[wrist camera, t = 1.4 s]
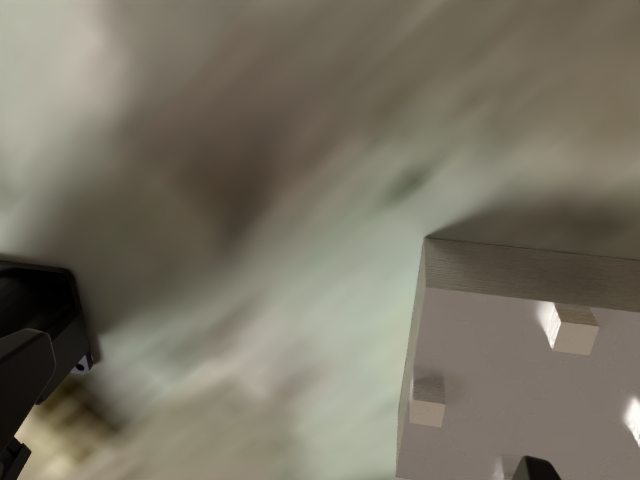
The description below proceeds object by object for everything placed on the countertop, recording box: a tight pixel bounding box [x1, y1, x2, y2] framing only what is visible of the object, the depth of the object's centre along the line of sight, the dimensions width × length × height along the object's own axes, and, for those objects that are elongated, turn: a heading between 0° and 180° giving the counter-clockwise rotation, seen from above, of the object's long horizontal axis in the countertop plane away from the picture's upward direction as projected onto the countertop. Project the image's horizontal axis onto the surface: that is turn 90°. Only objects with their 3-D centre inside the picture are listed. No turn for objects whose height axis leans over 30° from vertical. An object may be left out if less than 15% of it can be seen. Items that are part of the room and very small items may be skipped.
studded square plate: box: [396, 238, 640, 480], centre depth 21 cm, size 13×10×5 cm
